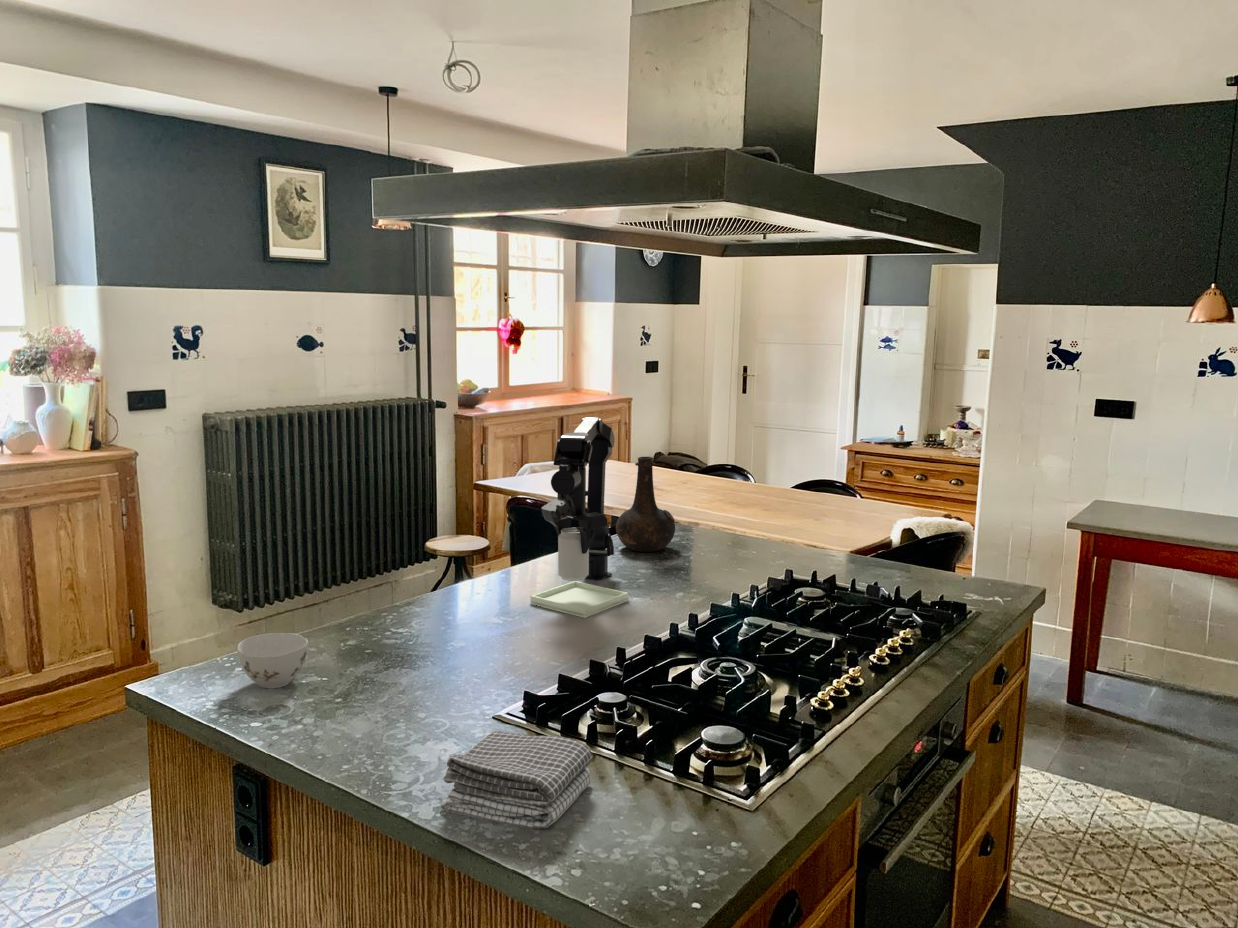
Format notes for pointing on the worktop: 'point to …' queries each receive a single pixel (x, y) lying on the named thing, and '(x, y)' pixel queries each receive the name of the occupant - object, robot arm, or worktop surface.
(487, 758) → the towel
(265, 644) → the teacup
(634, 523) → the glass bottle
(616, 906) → the worktop surface
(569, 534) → the can
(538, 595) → the tray
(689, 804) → the worktop surface
